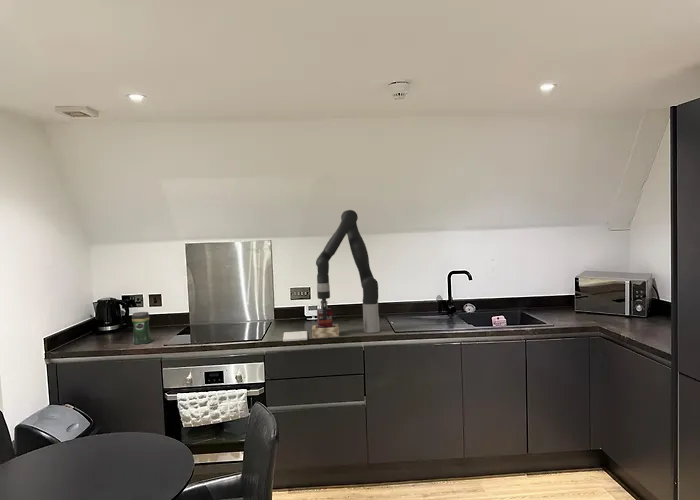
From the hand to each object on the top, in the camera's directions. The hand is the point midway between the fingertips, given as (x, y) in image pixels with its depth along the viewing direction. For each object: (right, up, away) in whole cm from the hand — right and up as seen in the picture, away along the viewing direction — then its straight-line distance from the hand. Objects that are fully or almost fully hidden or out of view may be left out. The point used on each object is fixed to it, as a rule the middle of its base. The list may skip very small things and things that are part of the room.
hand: (324, 318), depth 316 cm
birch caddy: (0, -10, +1) cm, 10 cm away
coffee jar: (-109, -15, 0) cm, 110 cm away
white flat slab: (-17, -11, -1) cm, 21 cm away
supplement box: (0, -10, +1) cm, 10 cm away
